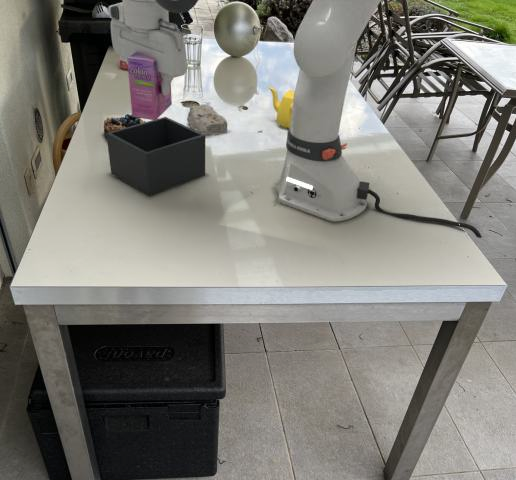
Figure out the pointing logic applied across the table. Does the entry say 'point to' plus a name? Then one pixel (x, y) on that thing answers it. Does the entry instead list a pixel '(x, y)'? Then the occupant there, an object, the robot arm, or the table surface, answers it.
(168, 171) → the bin
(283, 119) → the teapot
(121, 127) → the pastry
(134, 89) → the box
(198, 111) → the stone
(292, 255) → the table surface
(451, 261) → the table surface
